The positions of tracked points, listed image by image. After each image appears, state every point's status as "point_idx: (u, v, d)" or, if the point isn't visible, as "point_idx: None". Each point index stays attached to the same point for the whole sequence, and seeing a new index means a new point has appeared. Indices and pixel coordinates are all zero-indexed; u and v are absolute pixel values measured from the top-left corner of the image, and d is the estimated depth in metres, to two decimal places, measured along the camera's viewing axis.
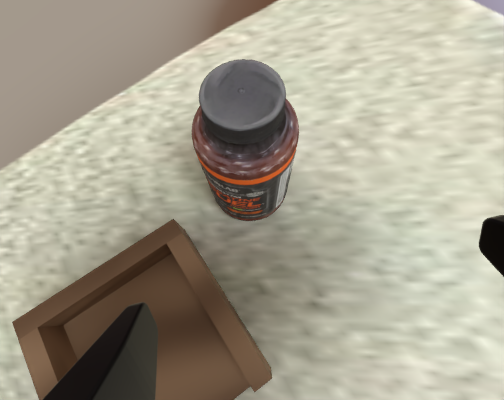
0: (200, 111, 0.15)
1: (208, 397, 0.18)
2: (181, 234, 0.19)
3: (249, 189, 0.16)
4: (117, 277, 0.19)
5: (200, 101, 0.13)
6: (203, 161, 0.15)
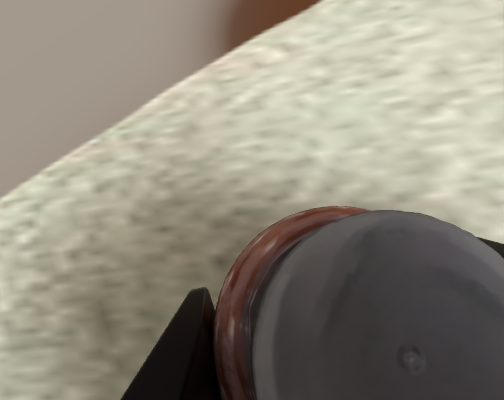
0: (236, 303, 0.06)
1: None
2: None
3: None
4: None
5: None
6: None
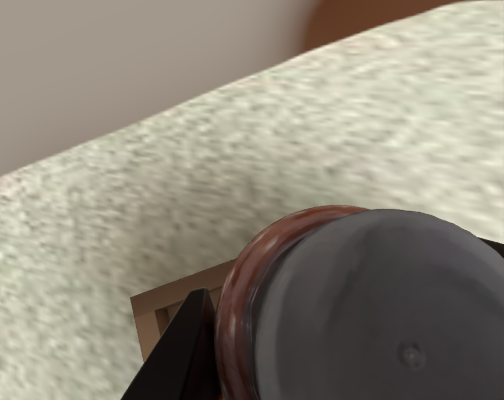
0: (238, 300, 0.06)
1: None
2: None
3: None
4: None
5: (263, 395, 0.04)
6: None
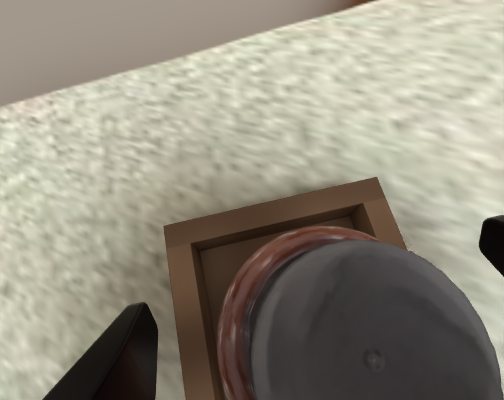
0: (238, 311, 0.07)
1: None
2: (384, 199, 0.15)
3: None
4: (290, 221, 0.15)
5: (257, 391, 0.04)
6: None
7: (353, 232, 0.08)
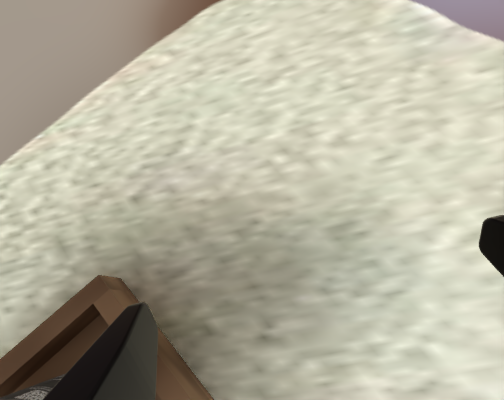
0: None
1: None
2: (108, 290, 0.18)
3: None
4: (43, 350, 0.17)
5: None
6: None
7: None
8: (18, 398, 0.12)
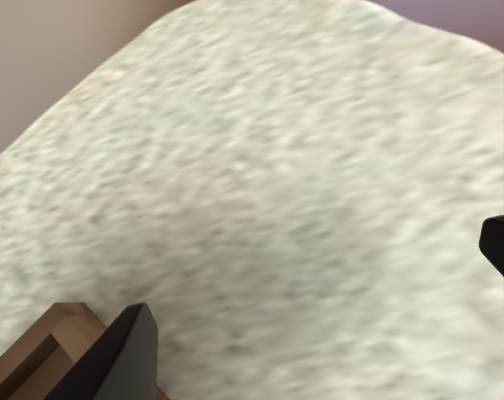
0: None
1: None
2: (66, 318, 0.17)
3: None
4: (1, 386, 0.17)
5: None
6: None
7: None
8: None
